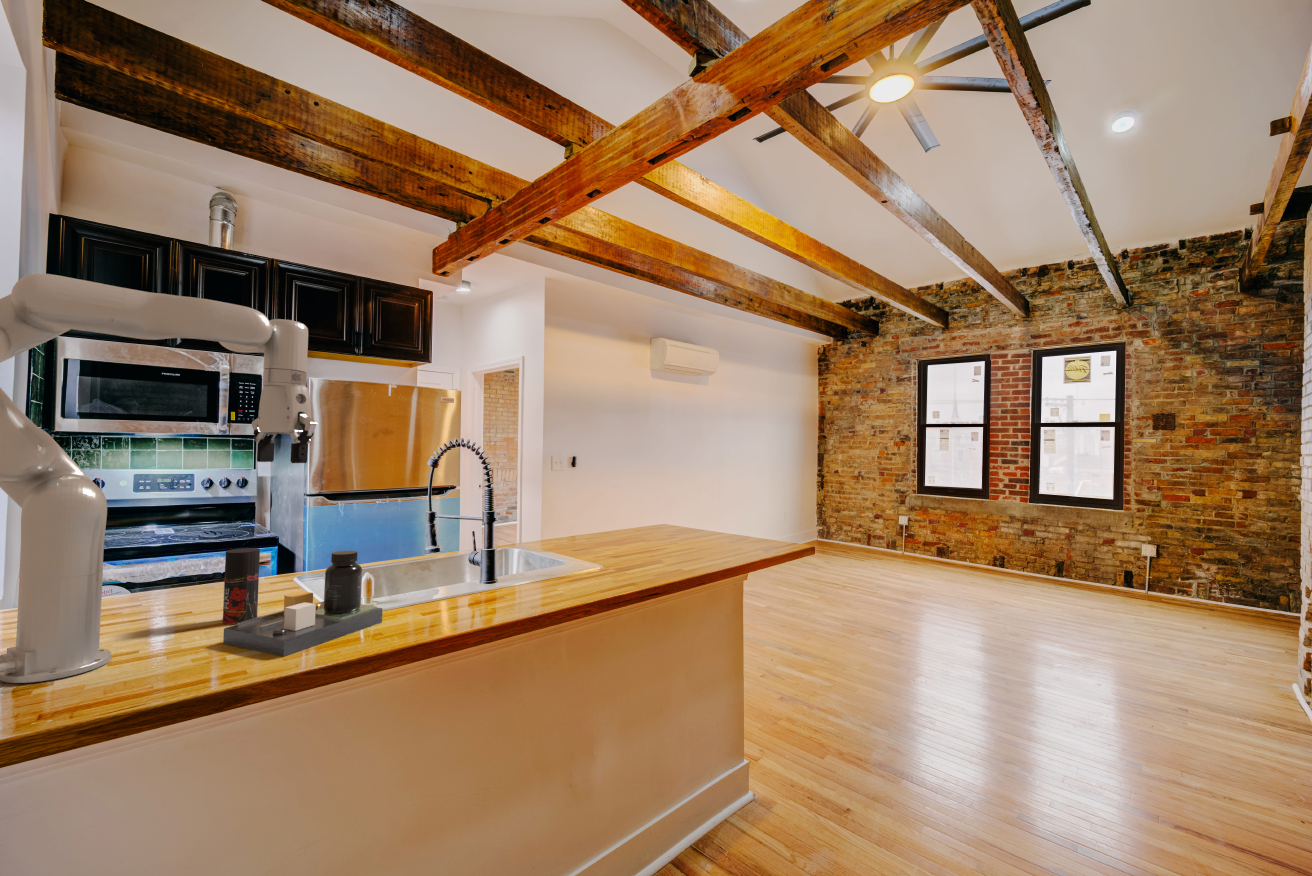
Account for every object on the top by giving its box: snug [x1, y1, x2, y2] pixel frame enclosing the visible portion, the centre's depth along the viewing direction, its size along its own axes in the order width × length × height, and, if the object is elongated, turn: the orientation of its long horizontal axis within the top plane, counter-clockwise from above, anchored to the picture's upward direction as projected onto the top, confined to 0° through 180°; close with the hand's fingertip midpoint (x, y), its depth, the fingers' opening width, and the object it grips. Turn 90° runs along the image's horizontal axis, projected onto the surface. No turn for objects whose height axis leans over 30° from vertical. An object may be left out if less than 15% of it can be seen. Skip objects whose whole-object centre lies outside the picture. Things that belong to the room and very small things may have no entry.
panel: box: [222, 600, 383, 658], centre depth 113 cm, size 22×16×4 cm
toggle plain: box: [284, 602, 316, 631], centre depth 107 cm, size 4×3×4 cm
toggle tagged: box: [283, 591, 314, 616], centre depth 115 cm, size 4×3×4 cm
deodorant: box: [222, 547, 261, 626], centre depth 120 cm, size 6×6×15 cm
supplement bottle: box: [323, 550, 363, 614], centre depth 118 cm, size 7×7×12 cm
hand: (281, 462), depth 115 cm, fingers open, 9 cm apart
